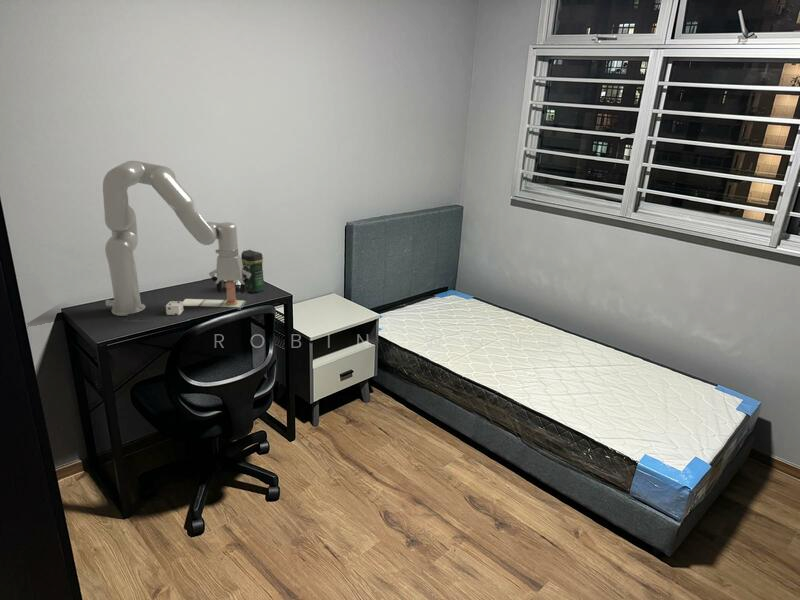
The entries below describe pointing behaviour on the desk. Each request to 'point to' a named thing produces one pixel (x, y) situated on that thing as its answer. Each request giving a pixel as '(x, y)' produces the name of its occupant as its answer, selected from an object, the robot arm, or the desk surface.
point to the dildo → (230, 293)
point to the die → (174, 308)
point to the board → (212, 303)
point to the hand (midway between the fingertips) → (231, 292)
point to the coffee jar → (253, 270)
